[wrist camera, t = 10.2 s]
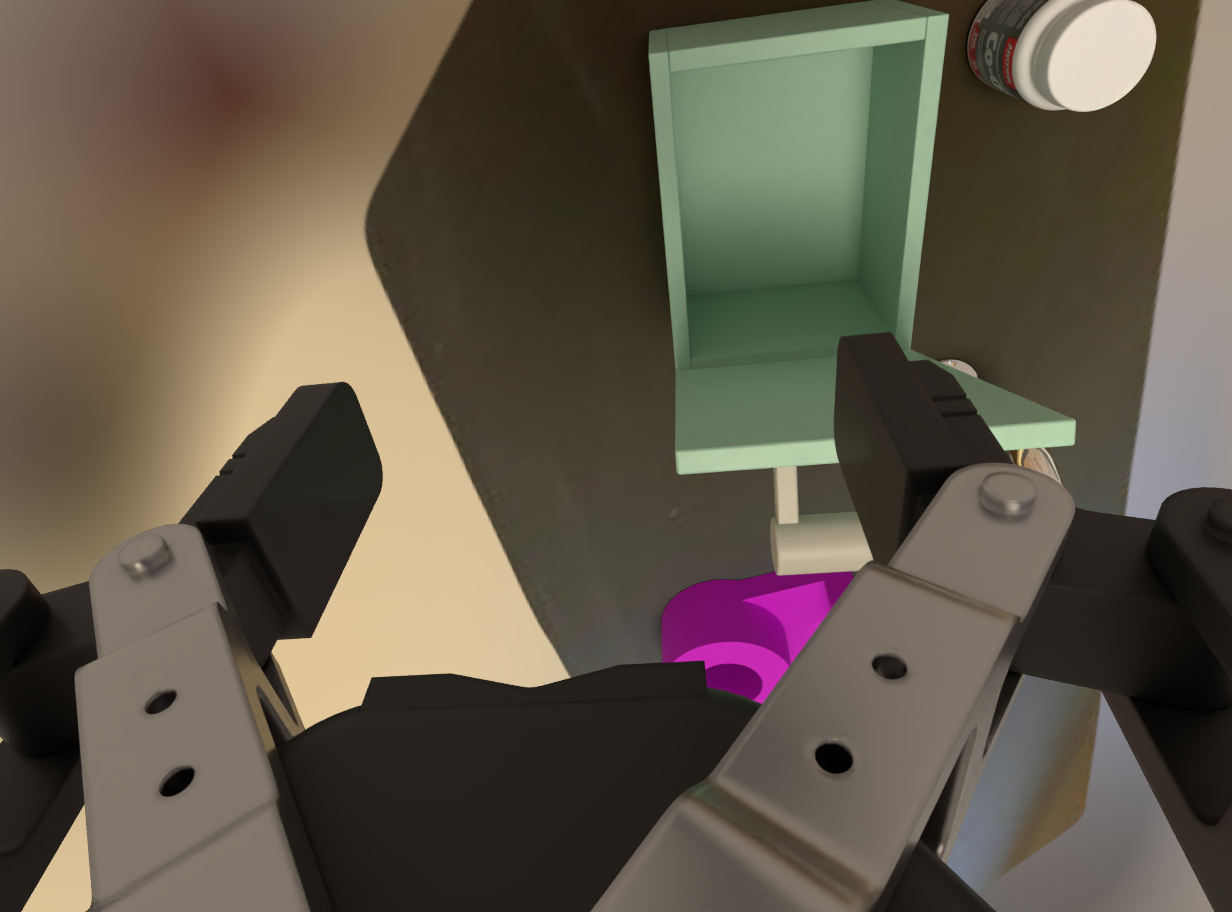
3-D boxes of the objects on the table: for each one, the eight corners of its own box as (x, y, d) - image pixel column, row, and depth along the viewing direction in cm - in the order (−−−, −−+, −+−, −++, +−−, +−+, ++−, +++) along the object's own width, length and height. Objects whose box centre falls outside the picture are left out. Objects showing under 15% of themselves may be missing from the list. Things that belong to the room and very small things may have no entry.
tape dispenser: (683, 672, 65) (686, 735, 60) (644, 596, 60) (644, 658, 54) (868, 632, 61) (888, 696, 56) (843, 547, 56) (863, 609, 51)
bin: (649, 30, 37) (648, 53, 30) (889, -2, 36) (949, 13, 28) (672, 304, 45) (675, 374, 38) (867, 284, 44) (910, 353, 37)
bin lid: (675, 450, 22) (688, 608, 24) (1077, 419, 21) (1067, 587, 23) (675, 370, 37) (683, 470, 39) (912, 349, 36) (912, 453, 38)
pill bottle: (946, 32, 36) (1015, 55, 29) (1039, -48, 34) (1136, -44, 27) (994, 108, 38) (1068, 147, 31) (1084, 37, 36) (1185, 61, 29)
